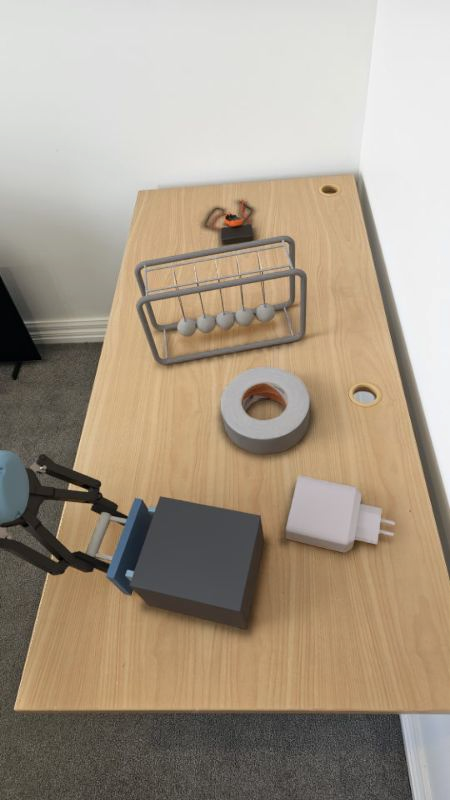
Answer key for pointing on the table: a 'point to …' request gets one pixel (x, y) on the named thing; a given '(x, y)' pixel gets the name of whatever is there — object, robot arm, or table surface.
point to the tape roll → (273, 431)
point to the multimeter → (235, 228)
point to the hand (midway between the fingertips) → (123, 547)
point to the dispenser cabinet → (200, 561)
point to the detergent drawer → (123, 543)
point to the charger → (332, 516)
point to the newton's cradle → (225, 317)
